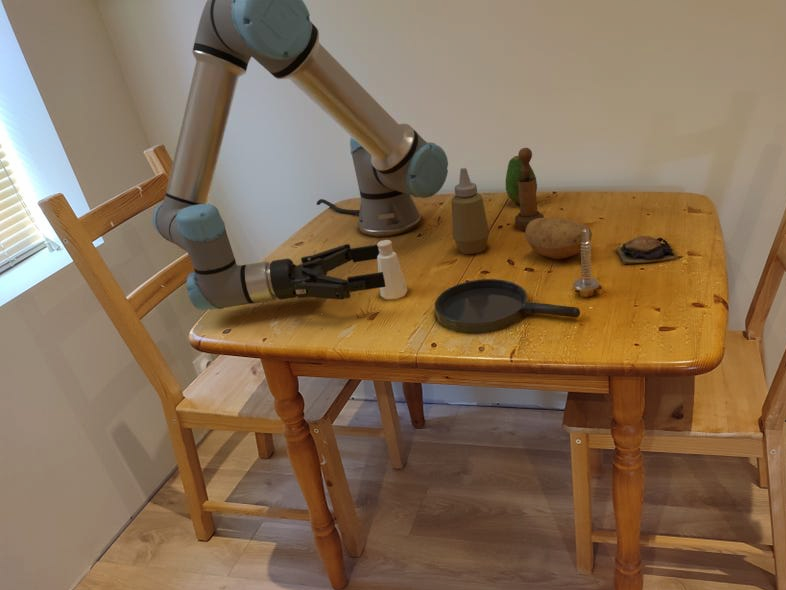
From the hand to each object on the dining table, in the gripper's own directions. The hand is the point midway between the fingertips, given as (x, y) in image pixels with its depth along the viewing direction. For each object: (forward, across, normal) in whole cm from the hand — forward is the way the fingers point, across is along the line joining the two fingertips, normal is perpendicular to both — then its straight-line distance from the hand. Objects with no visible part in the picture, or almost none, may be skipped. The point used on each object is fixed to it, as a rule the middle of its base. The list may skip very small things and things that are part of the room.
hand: (384, 264), depth 126 cm
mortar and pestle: (+33, -25, -7) cm, 42 cm away
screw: (+37, +12, -7) cm, 39 cm away
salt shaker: (+1, 0, -7) cm, 7 cm away
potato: (+36, -6, -7) cm, 37 cm away
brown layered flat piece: (+52, -1, -7) cm, 53 cm away
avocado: (+34, -41, -7) cm, 54 cm away
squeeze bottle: (+19, -16, -7) cm, 26 cm away
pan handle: (+28, +19, -6) cm, 35 cm away
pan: (+17, +12, -6) cm, 22 cm away
